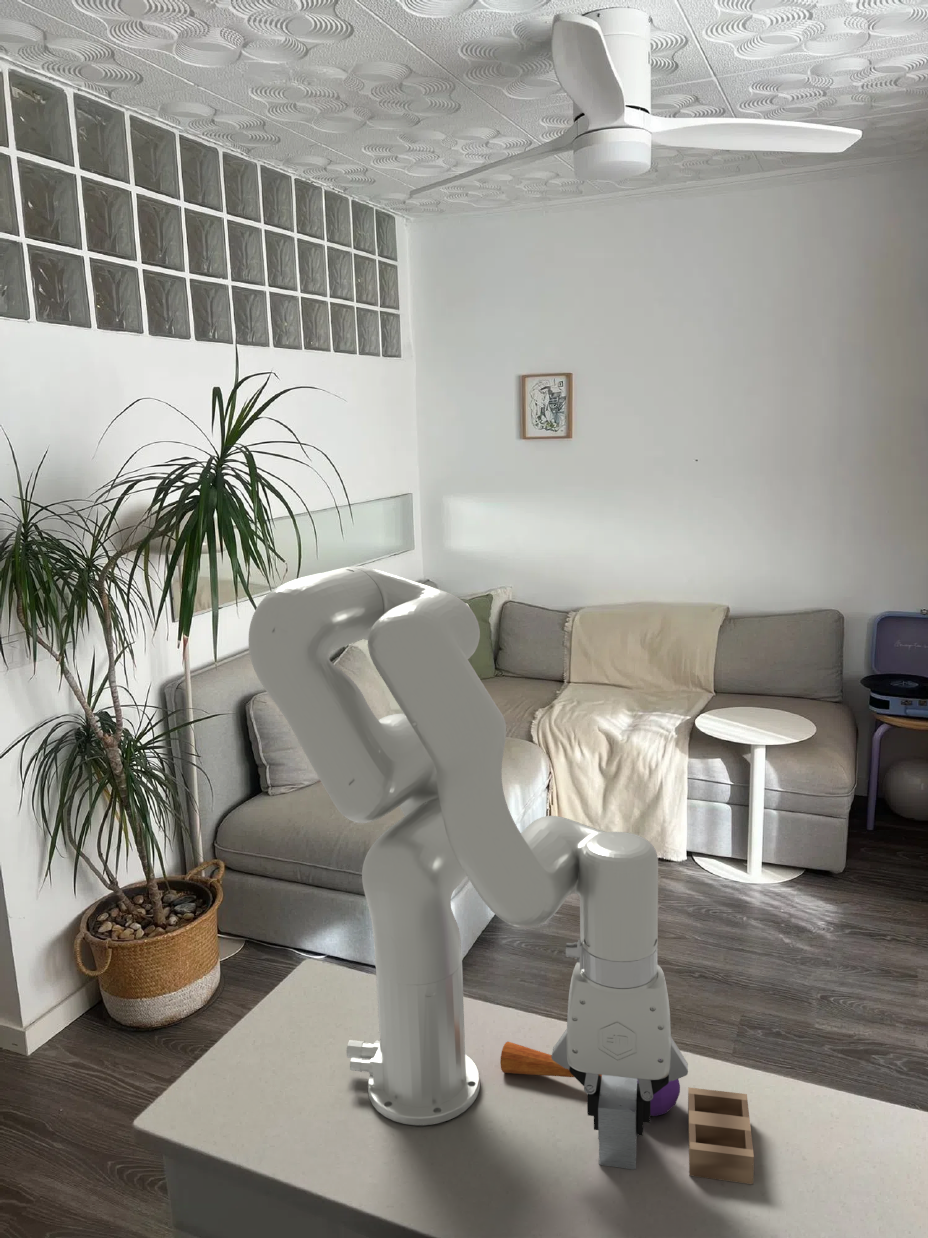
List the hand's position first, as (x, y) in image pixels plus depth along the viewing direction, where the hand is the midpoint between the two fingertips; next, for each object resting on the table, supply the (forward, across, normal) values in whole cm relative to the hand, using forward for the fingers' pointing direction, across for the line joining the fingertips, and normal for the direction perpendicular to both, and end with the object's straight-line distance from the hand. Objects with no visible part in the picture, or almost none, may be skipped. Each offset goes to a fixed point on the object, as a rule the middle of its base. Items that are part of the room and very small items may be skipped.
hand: (619, 1122), depth 95 cm
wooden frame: (+3, +10, +2) cm, 11 cm away
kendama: (+3, -4, +8) cm, 9 cm away
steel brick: (+3, 0, 0) cm, 3 cm away
